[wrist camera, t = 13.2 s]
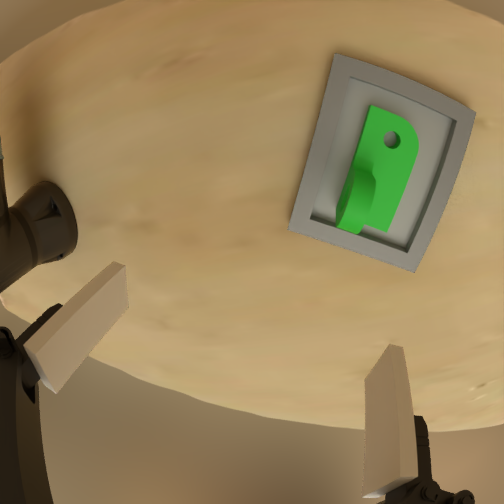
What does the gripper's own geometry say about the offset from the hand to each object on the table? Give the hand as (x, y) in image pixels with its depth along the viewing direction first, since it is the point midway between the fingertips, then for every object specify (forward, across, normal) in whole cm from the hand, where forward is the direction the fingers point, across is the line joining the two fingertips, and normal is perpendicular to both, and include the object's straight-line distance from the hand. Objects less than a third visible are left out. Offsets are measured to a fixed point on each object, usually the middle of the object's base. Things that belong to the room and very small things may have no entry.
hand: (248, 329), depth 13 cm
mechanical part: (+22, +8, +6) cm, 24 cm away
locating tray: (+22, +8, +6) cm, 24 cm away
